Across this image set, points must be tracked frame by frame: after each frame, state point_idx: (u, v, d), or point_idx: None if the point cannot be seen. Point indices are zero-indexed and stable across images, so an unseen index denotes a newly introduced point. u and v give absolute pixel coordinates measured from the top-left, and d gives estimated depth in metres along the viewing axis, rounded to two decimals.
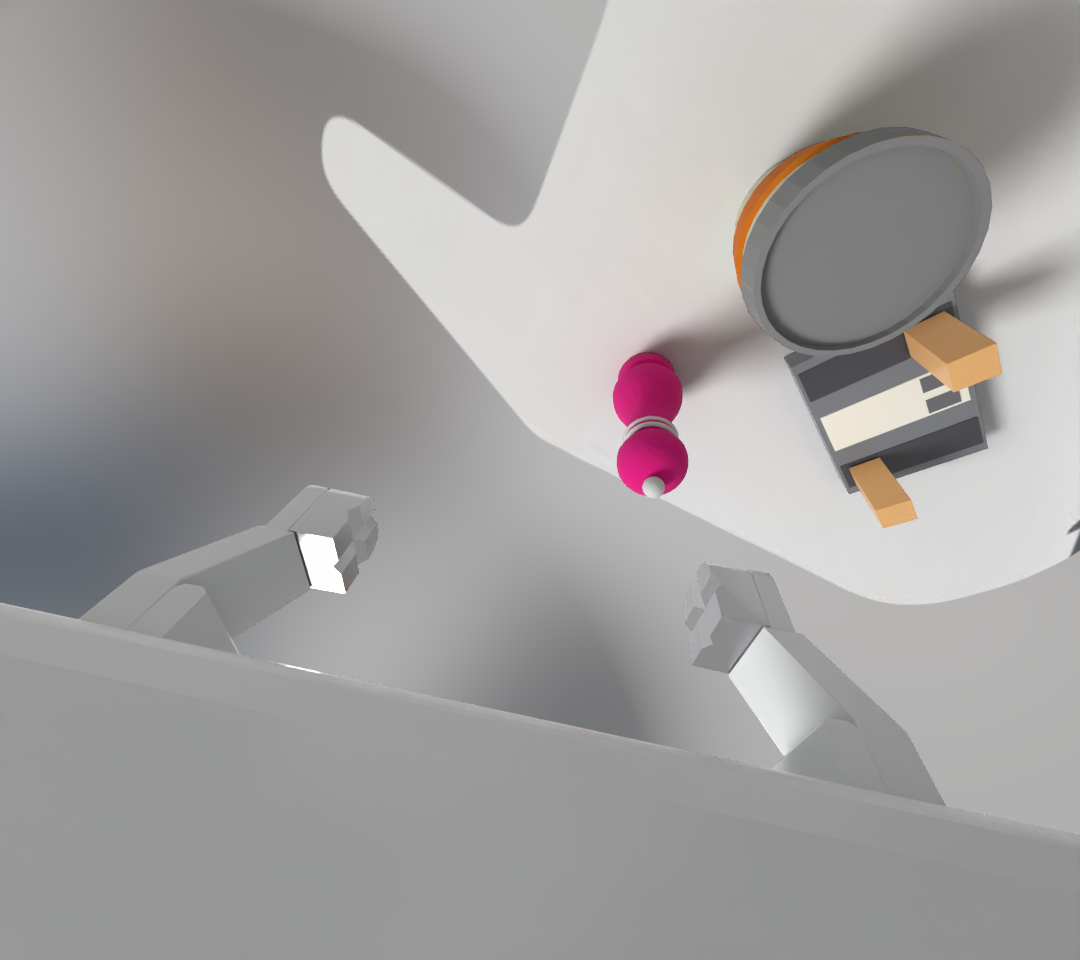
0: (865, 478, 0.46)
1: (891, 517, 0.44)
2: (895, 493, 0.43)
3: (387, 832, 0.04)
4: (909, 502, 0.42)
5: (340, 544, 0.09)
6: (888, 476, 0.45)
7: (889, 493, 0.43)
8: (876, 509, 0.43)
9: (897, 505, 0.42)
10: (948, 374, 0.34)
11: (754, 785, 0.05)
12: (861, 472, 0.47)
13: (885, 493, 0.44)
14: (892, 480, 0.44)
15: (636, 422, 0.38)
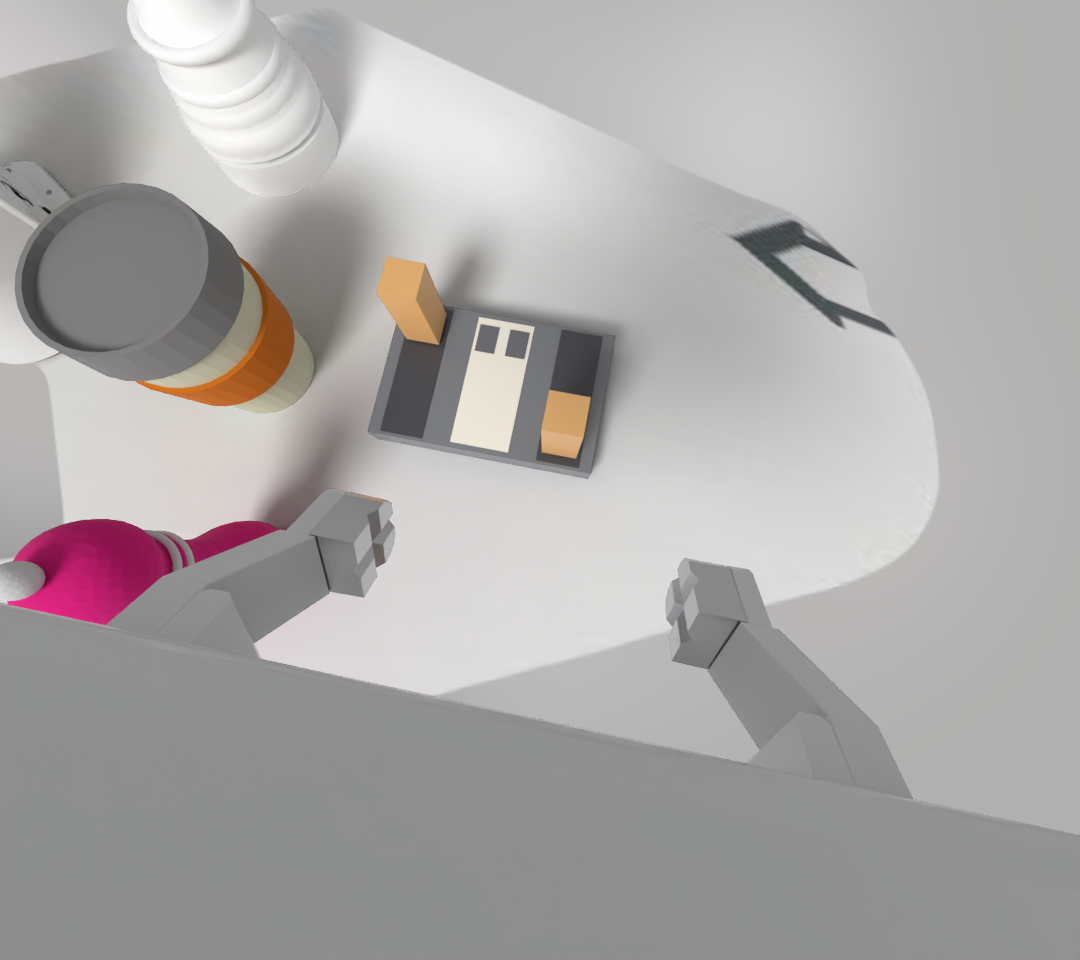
0: None
1: (568, 421, 0.29)
2: None
3: (386, 830, 0.04)
4: (552, 392, 0.30)
5: (360, 548, 0.09)
6: None
7: None
8: None
9: (550, 405, 0.30)
10: (391, 296, 0.31)
11: (754, 786, 0.05)
12: None
13: None
14: None
15: None
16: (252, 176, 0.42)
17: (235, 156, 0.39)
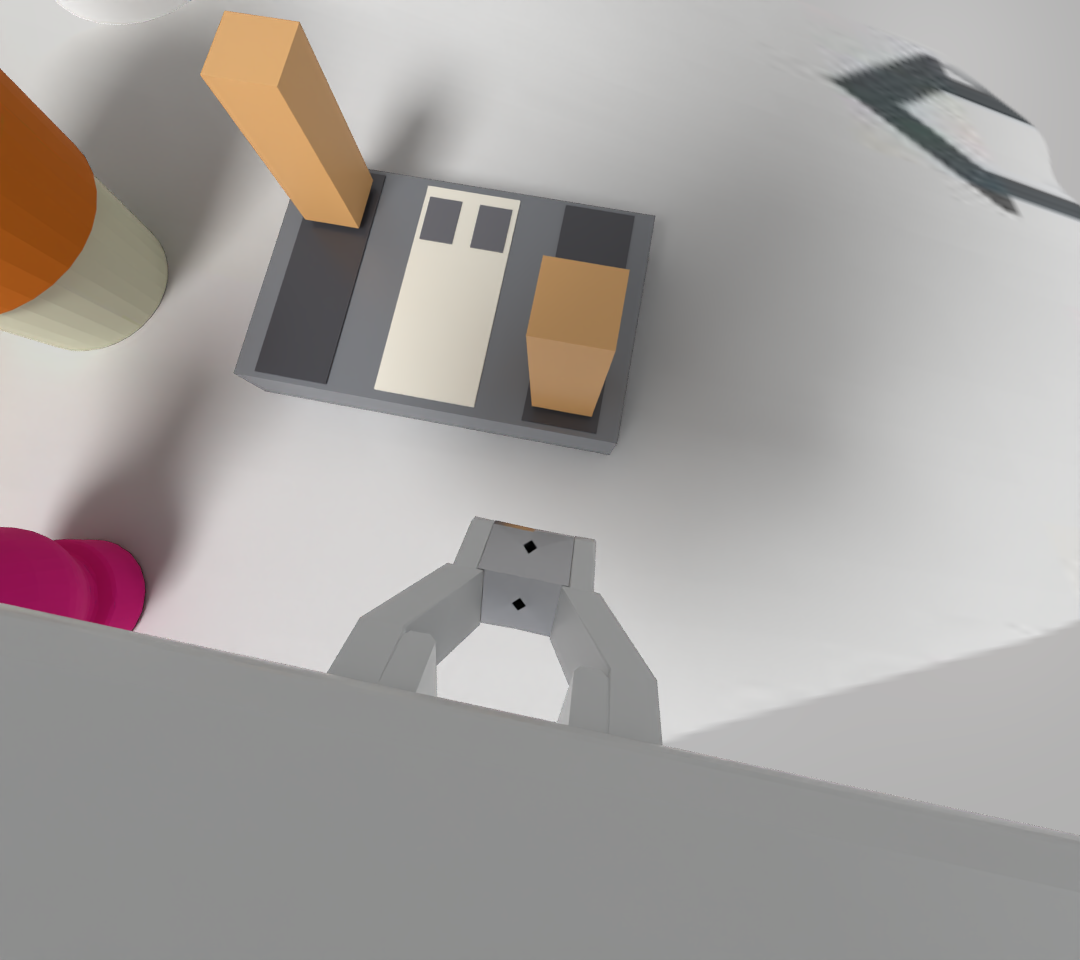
0: None
1: (583, 317, 0.14)
2: None
3: (386, 831, 0.04)
4: (550, 261, 0.14)
5: None
6: None
7: None
8: (526, 334, 0.14)
9: (544, 286, 0.14)
10: (231, 83, 0.16)
11: (753, 785, 0.05)
12: None
13: None
14: None
15: None
16: None
17: None
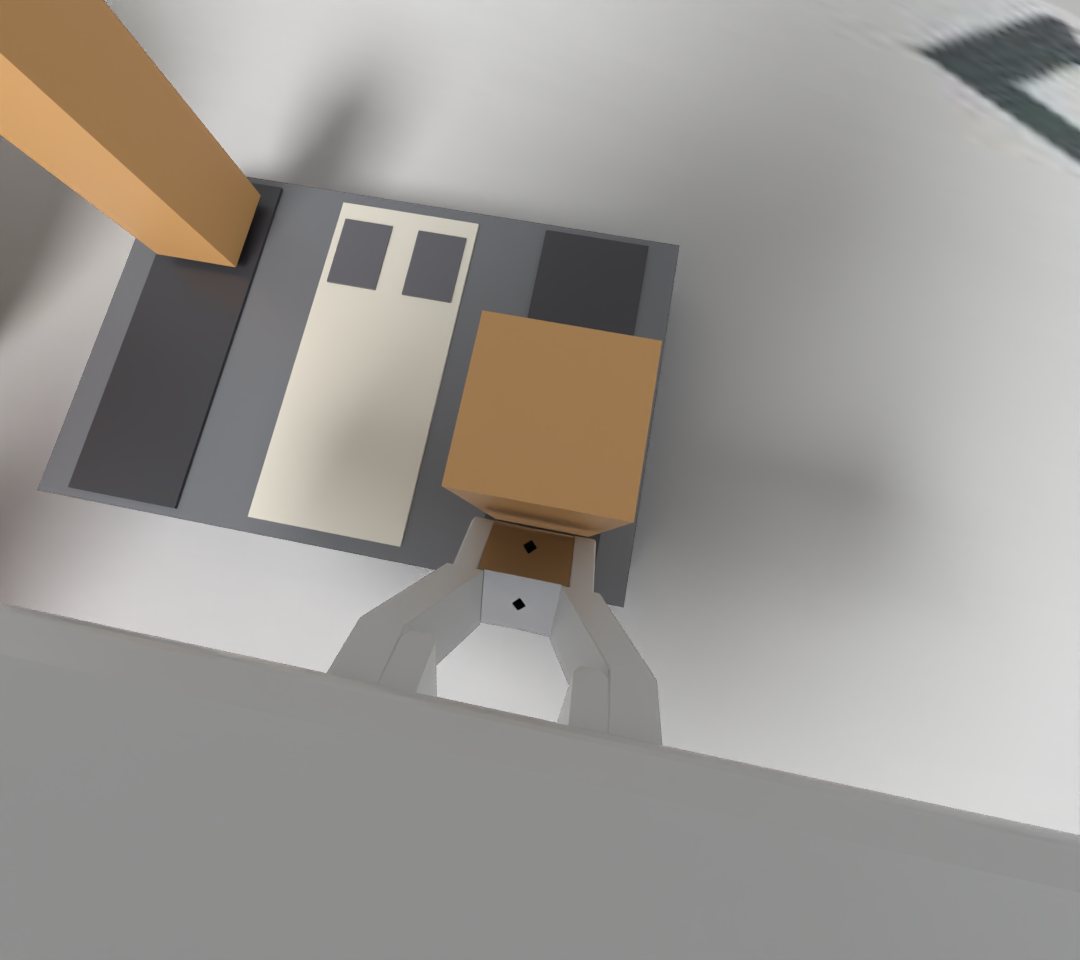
0: None
1: (564, 445, 0.07)
2: None
3: (386, 831, 0.04)
4: (497, 323, 0.07)
5: None
6: None
7: None
8: (445, 479, 0.07)
9: (484, 378, 0.07)
10: None
11: (754, 785, 0.05)
12: None
13: None
14: None
15: None
16: None
17: None
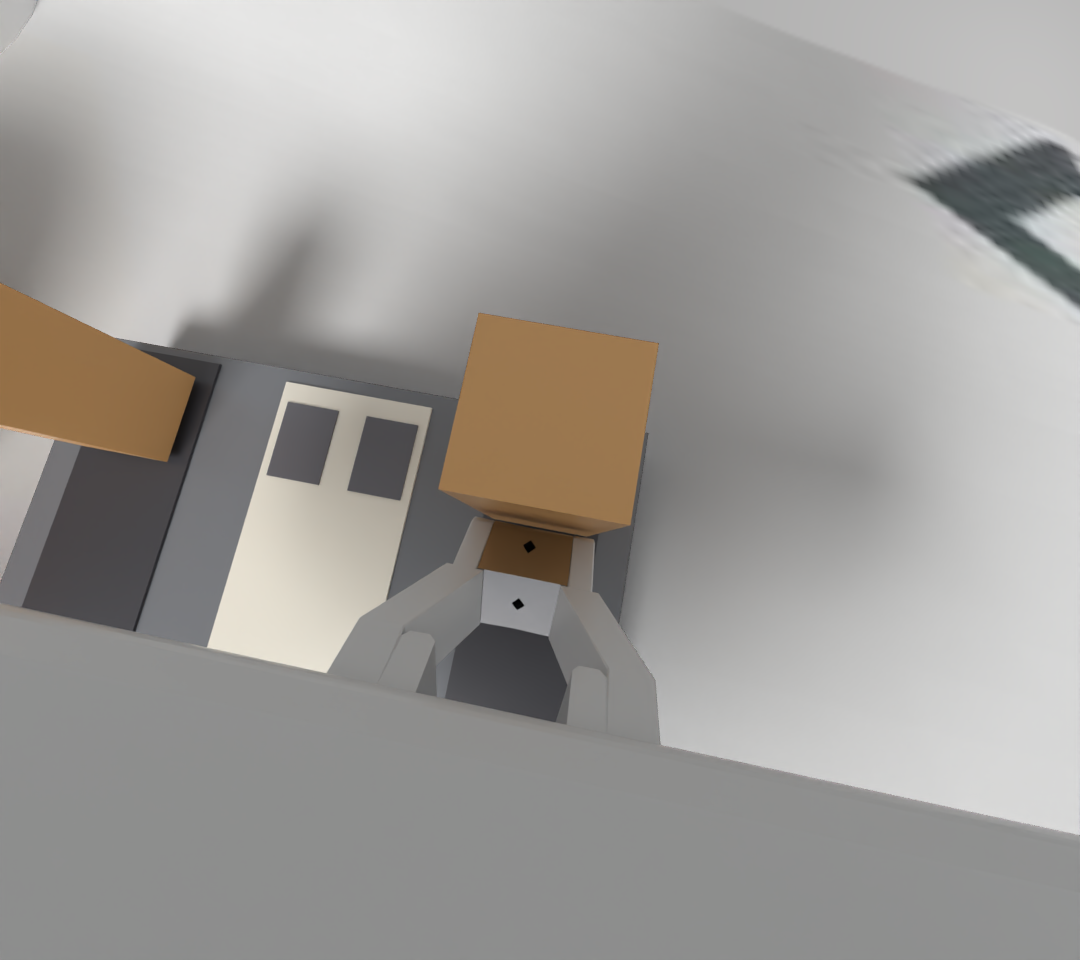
0: None
1: (560, 448, 0.07)
2: None
3: (387, 830, 0.04)
4: (494, 325, 0.07)
5: None
6: None
7: None
8: (441, 482, 0.07)
9: (481, 380, 0.07)
10: None
11: (755, 786, 0.05)
12: None
13: None
14: None
15: None
16: None
17: None
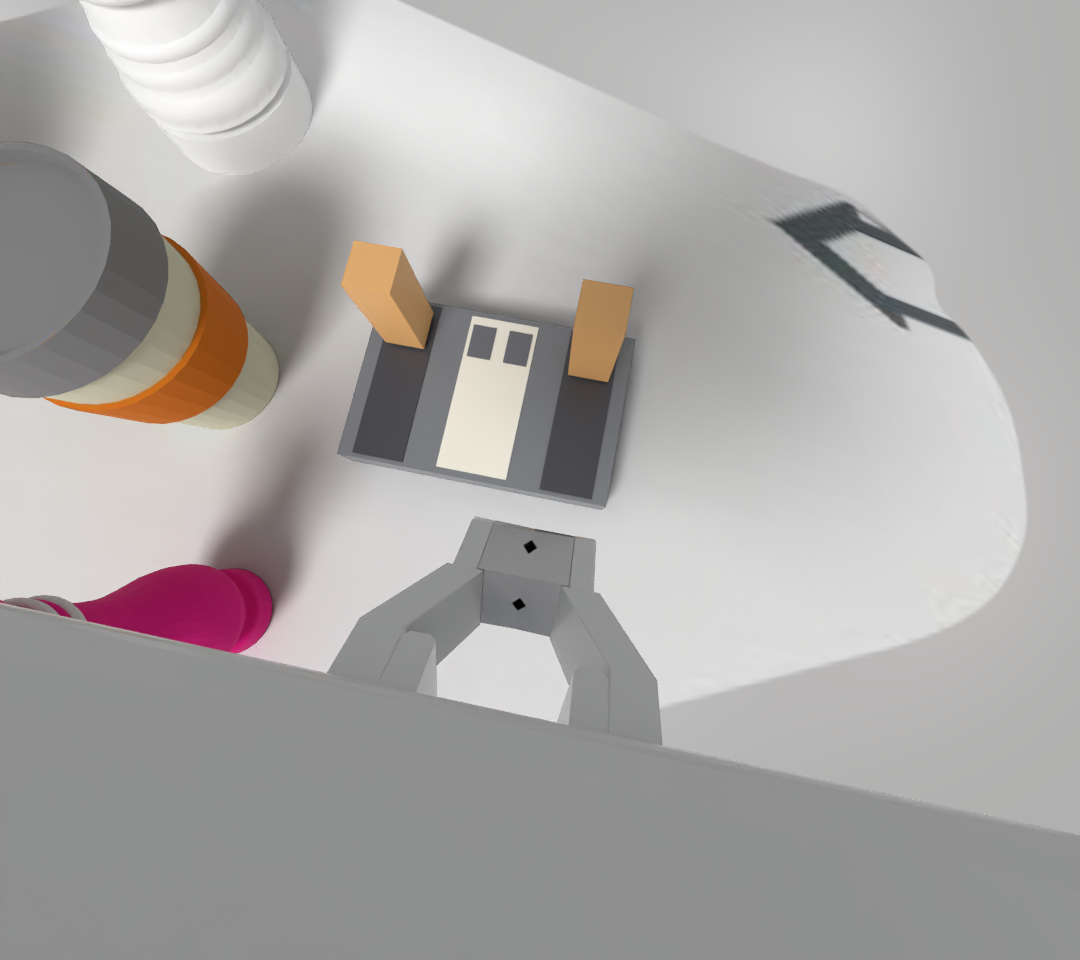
0: None
1: (606, 315, 0.24)
2: None
3: (386, 831, 0.04)
4: (587, 282, 0.25)
5: None
6: None
7: None
8: (574, 325, 0.24)
9: (584, 297, 0.24)
10: (359, 289, 0.25)
11: (753, 785, 0.05)
12: None
13: None
14: None
15: None
16: (207, 150, 0.35)
17: (184, 124, 0.33)
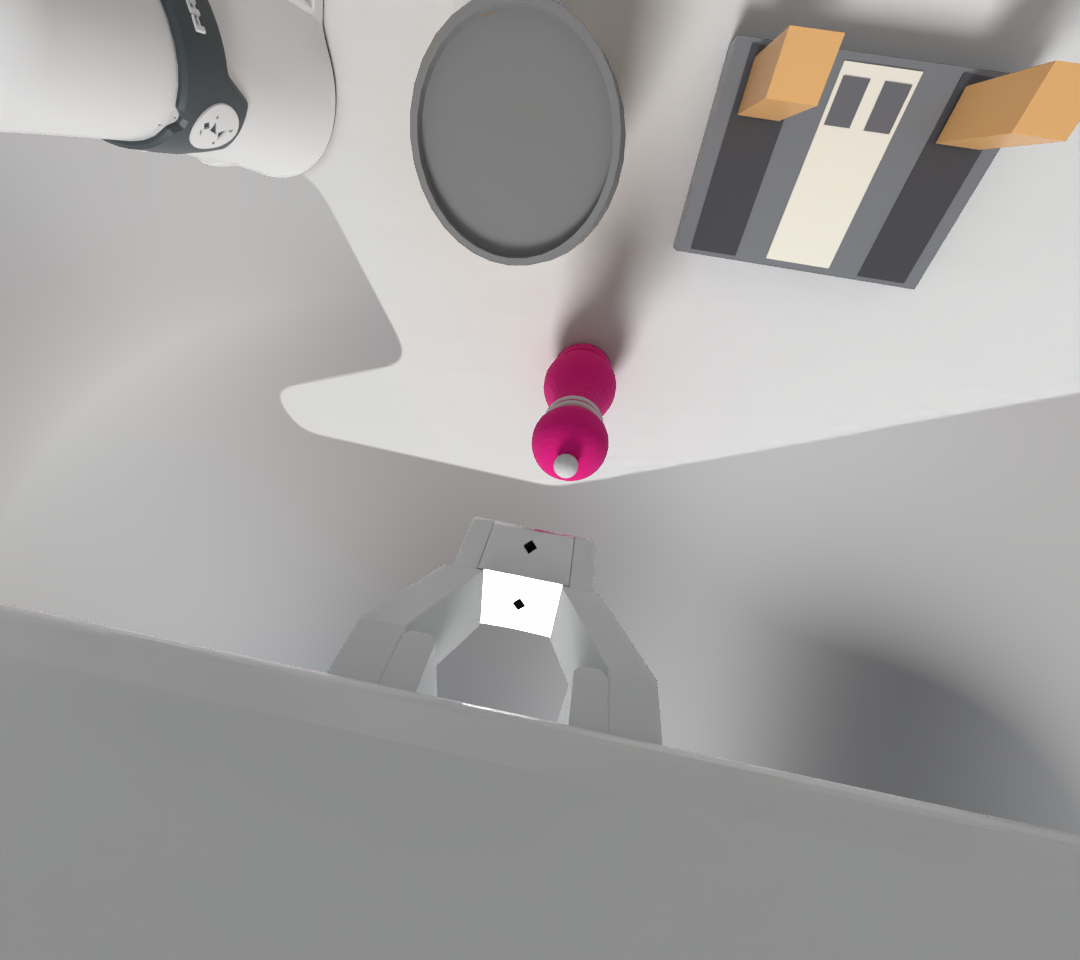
0: (966, 124, 0.27)
1: (1057, 115, 0.23)
2: (1024, 84, 0.24)
3: (387, 831, 0.04)
4: (1058, 65, 0.22)
5: None
6: (996, 84, 0.26)
7: (1015, 94, 0.24)
8: (1011, 130, 0.24)
9: (1043, 90, 0.23)
10: (784, 101, 0.25)
11: (754, 785, 0.05)
12: (955, 126, 0.28)
13: (1009, 102, 0.25)
14: (1006, 79, 0.25)
15: None
16: None
17: None
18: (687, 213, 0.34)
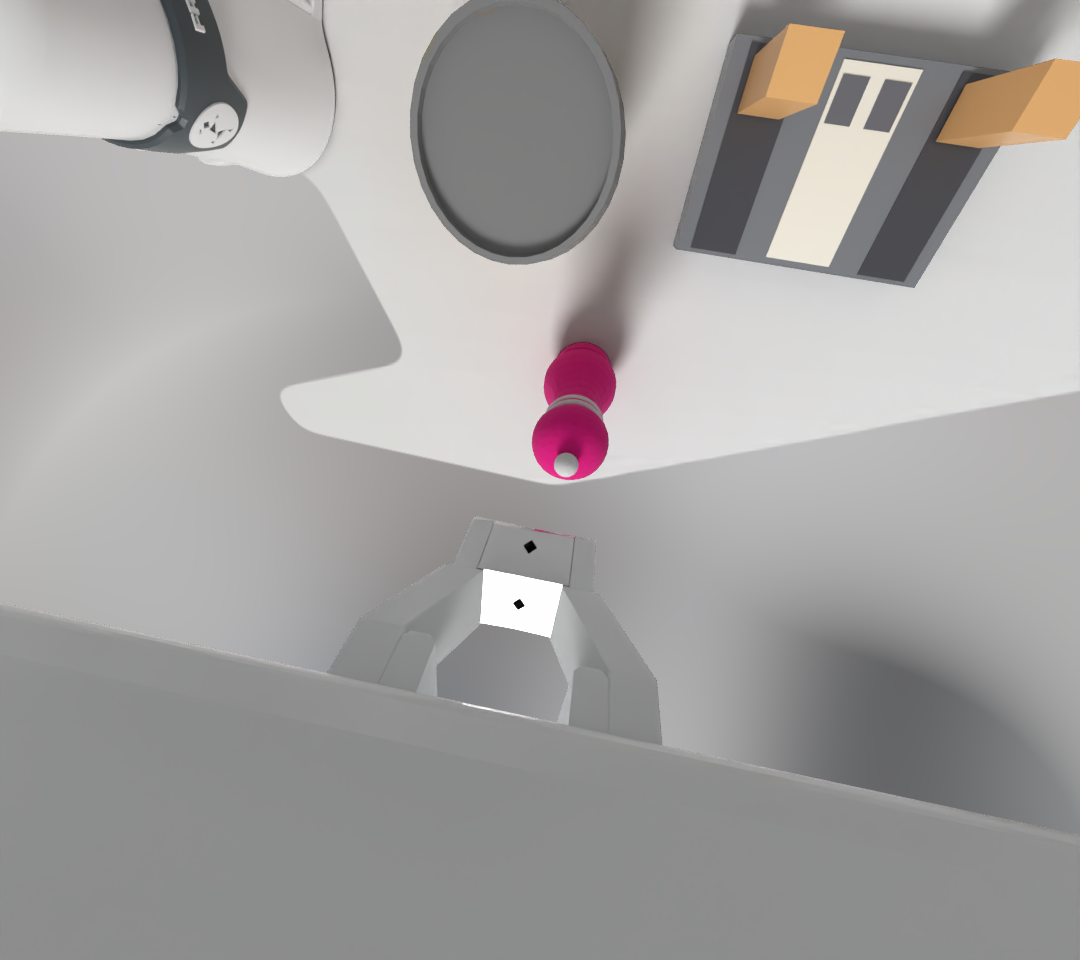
0: (966, 122, 0.27)
1: (1057, 113, 0.23)
2: (1024, 82, 0.24)
3: (386, 832, 0.04)
4: (1058, 64, 0.22)
5: None
6: (996, 82, 0.26)
7: (1015, 92, 0.24)
8: (1011, 128, 0.24)
9: (1043, 88, 0.23)
10: (784, 100, 0.25)
11: (755, 786, 0.05)
12: (955, 124, 0.28)
13: (1009, 100, 0.25)
14: (1006, 78, 0.25)
15: None
16: None
17: None
18: (687, 212, 0.34)
